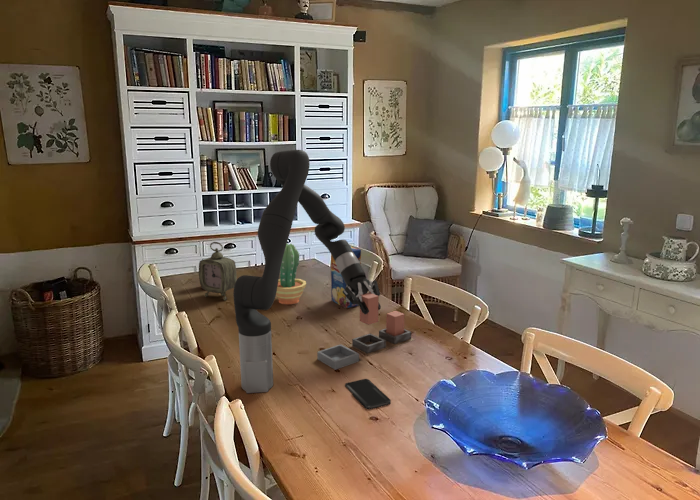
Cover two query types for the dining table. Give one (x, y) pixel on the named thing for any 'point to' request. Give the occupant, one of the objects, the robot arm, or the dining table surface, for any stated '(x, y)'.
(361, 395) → the phone
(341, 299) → the juice carton
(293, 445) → the dining table surface
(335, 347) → the box
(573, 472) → the dining table surface
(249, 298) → the robot arm
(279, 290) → the potted cactus
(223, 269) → the tabletop clock
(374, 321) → the block
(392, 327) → the block
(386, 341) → the dark grey double holder
